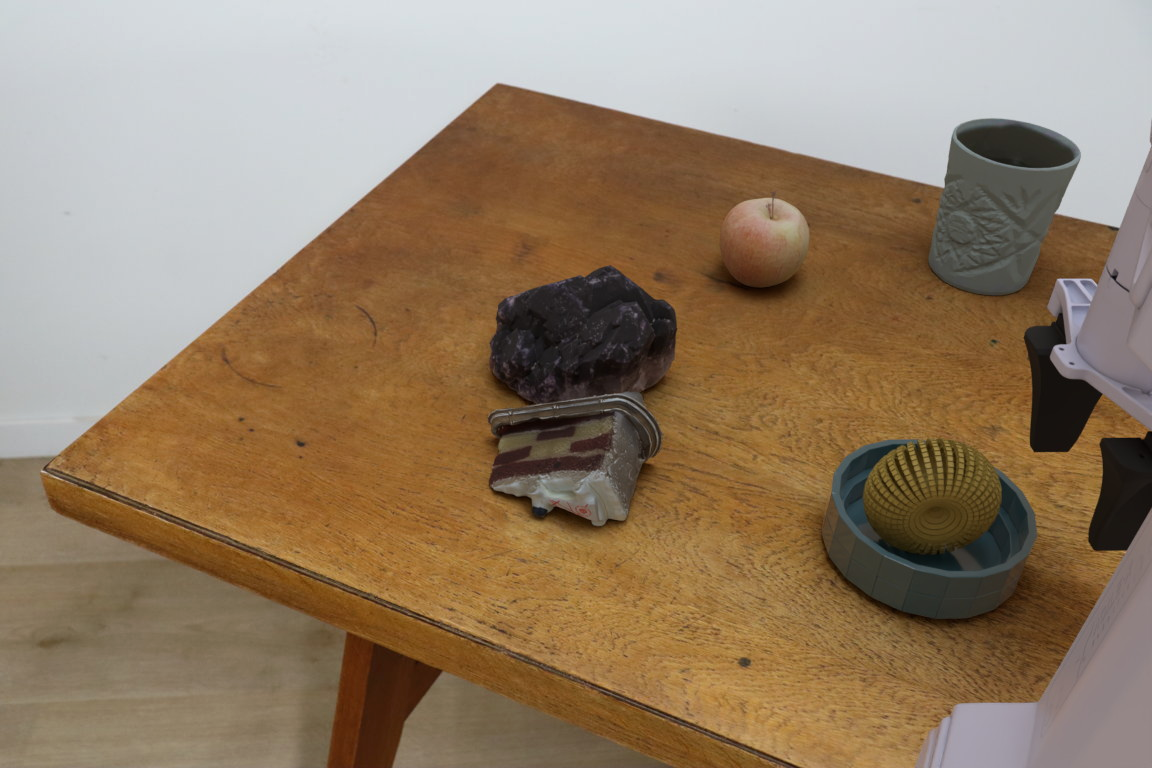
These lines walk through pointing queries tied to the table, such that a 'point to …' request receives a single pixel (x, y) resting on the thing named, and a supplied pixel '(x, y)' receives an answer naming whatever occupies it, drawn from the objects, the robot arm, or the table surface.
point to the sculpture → (932, 496)
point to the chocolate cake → (575, 453)
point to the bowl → (926, 580)
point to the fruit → (764, 241)
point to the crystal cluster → (583, 338)
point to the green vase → (998, 203)
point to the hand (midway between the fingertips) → (1077, 494)
